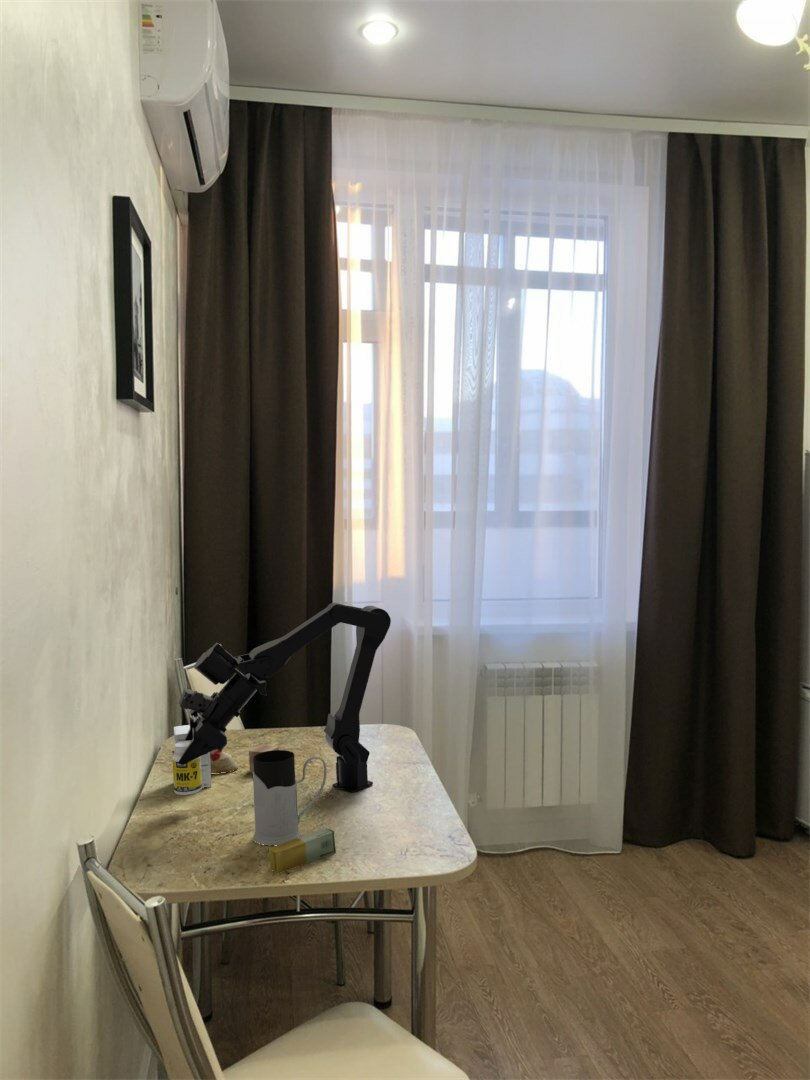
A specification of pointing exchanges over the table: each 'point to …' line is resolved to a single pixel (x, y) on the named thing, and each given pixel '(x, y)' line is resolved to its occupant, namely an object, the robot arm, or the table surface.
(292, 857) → the medication box
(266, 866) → the table surface
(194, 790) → the supplement bottle
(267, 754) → the glass holder
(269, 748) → the tan cube
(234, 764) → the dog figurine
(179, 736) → the supplement box
